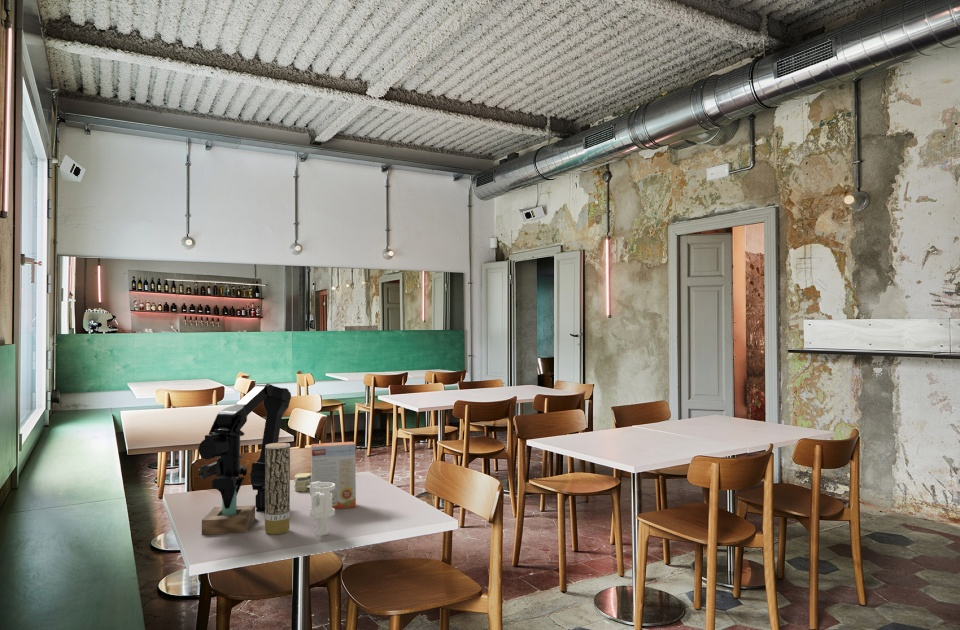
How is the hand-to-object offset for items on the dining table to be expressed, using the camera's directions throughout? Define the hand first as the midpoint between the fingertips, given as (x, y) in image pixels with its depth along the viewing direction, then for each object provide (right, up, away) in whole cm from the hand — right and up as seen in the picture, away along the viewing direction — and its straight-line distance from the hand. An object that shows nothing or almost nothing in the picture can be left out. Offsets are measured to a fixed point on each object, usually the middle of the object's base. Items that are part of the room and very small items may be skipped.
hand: (229, 505), depth 192 cm
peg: (0, -6, 0) cm, 6 cm away
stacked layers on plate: (+10, -8, +45) cm, 46 cm away
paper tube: (+16, -6, -6) cm, 18 cm away
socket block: (0, -6, 0) cm, 6 cm away
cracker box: (+26, -7, +20) cm, 34 cm away
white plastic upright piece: (+29, -6, -8) cm, 31 cm away
